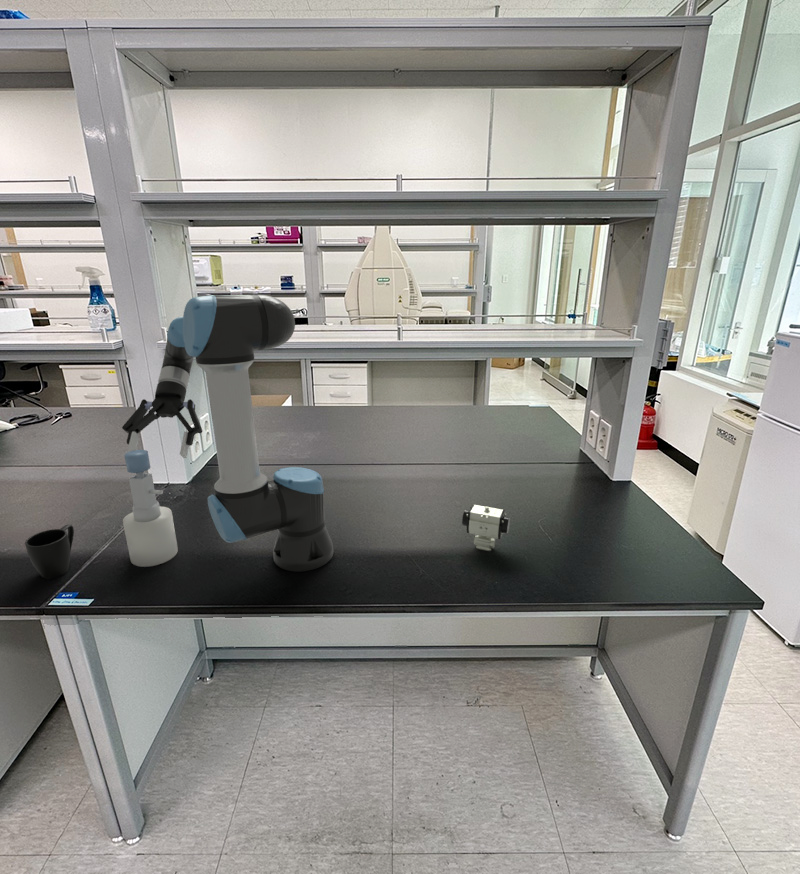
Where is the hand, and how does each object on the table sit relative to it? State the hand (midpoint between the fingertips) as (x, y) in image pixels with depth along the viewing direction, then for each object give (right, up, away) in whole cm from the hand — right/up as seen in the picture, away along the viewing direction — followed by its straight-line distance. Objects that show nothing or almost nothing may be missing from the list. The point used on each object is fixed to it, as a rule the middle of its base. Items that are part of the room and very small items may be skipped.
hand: (156, 456), depth 127 cm
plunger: (0, -11, -6) cm, 13 cm away
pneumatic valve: (+86, -25, +3) cm, 89 cm away
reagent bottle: (0, -25, -1) cm, 25 cm away
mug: (-20, -27, -7) cm, 35 cm away
